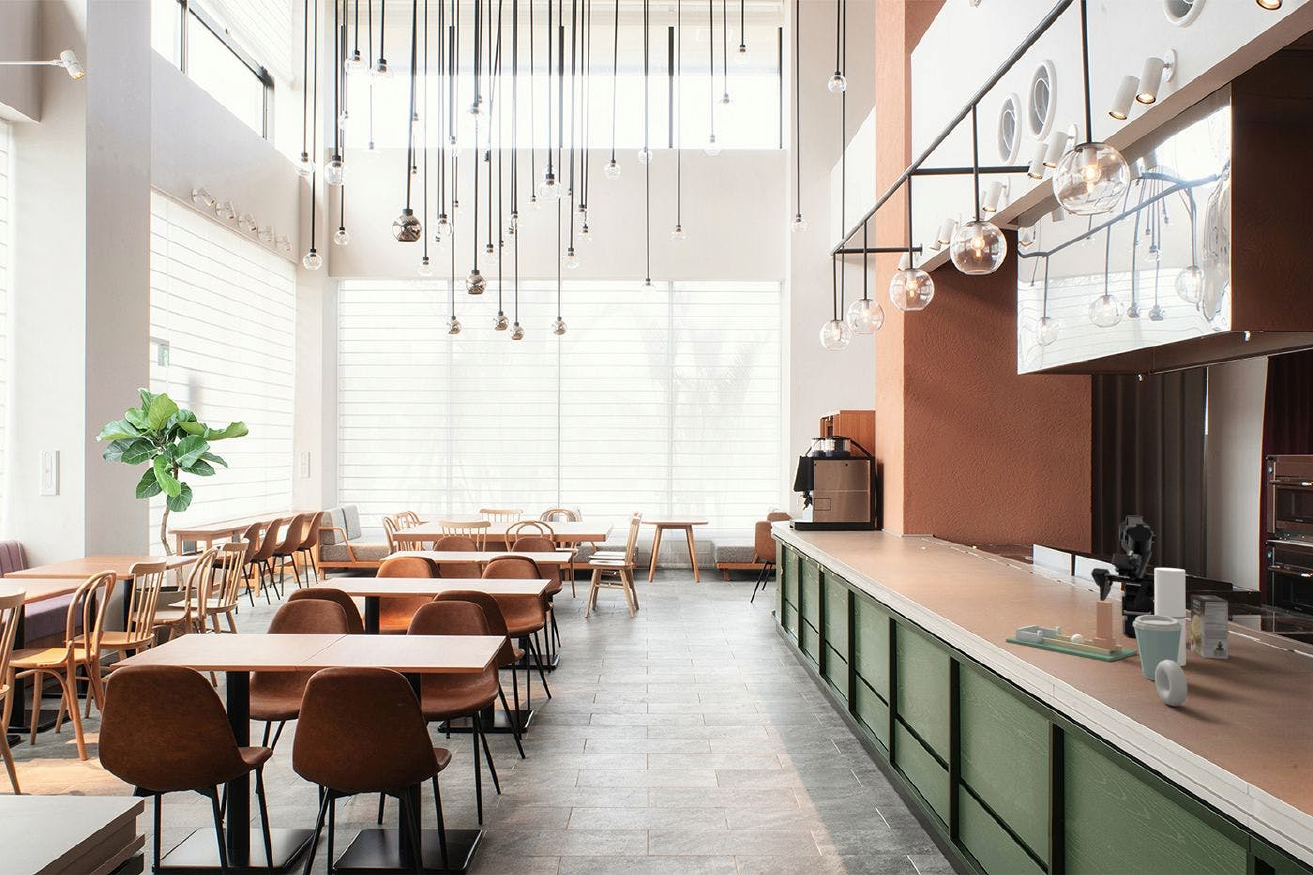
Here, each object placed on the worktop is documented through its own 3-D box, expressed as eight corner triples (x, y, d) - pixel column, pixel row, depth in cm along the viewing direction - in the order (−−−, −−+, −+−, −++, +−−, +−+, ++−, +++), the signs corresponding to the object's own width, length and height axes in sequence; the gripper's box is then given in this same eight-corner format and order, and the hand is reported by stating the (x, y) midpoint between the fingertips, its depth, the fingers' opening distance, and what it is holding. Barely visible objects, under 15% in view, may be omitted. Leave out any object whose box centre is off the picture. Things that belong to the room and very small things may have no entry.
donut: (1152, 698, 194) (1151, 654, 194) (1167, 699, 194) (1167, 655, 194) (1174, 711, 184) (1173, 665, 184) (1191, 712, 184) (1190, 666, 184)
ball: (1083, 645, 245) (1083, 633, 245) (1086, 648, 241) (1086, 635, 241) (1070, 644, 246) (1069, 632, 246) (1072, 647, 242) (1072, 635, 242)
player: (1103, 647, 241) (1103, 600, 241) (1116, 650, 238) (1116, 601, 238) (1093, 650, 237) (1092, 602, 237) (1105, 652, 234) (1105, 603, 235)
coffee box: (1189, 650, 243) (1189, 594, 243) (1214, 651, 242) (1214, 595, 242) (1203, 658, 234) (1203, 599, 234) (1229, 659, 233) (1229, 600, 233)
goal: (1036, 634, 260) (1036, 622, 260) (1062, 639, 253) (1062, 627, 253) (1015, 639, 253) (1015, 627, 253) (1041, 644, 246) (1041, 631, 246)
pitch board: (1034, 635, 262) (1034, 627, 262) (1136, 653, 238) (1136, 645, 238) (1006, 641, 253) (1006, 633, 253) (1109, 661, 229) (1109, 653, 229)
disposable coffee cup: (1182, 686, 205) (1182, 623, 205) (1131, 679, 210) (1131, 619, 211) (1182, 676, 214) (1182, 616, 214) (1133, 670, 219) (1133, 612, 220)
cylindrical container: (1175, 666, 224) (1175, 571, 224) (1149, 661, 230) (1148, 568, 230) (1191, 664, 227) (1191, 570, 227) (1165, 658, 233) (1164, 567, 234)
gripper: (1094, 540, 253) (1075, 581, 247) (1161, 546, 238) (1143, 589, 232) (1107, 565, 258) (1088, 605, 251) (1173, 572, 243) (1156, 615, 236)
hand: (1117, 603), depth 242 cm, fingers open, 9 cm apart
